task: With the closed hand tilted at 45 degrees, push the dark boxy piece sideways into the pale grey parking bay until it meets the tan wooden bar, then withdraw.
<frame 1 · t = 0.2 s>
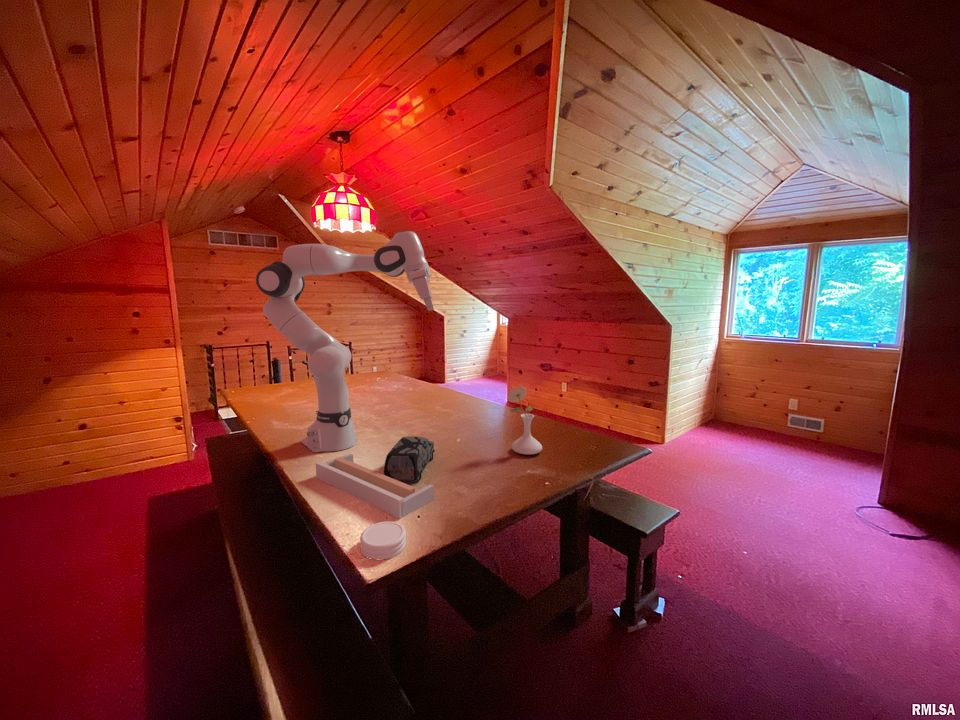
hand: (431, 310, 144), 52 cm above the table, tool tilted 20°, fingers open, 8 cm apart
coaster: (383, 547, 87), on the table
dark boxy piece: (411, 470, 127), on the table
tan wooden bar: (371, 480, 114), point 3 cm above the table, slide at 0.0 cm
parking bay: (371, 487, 115), on the table
flower in vase: (524, 452, 143), on the table
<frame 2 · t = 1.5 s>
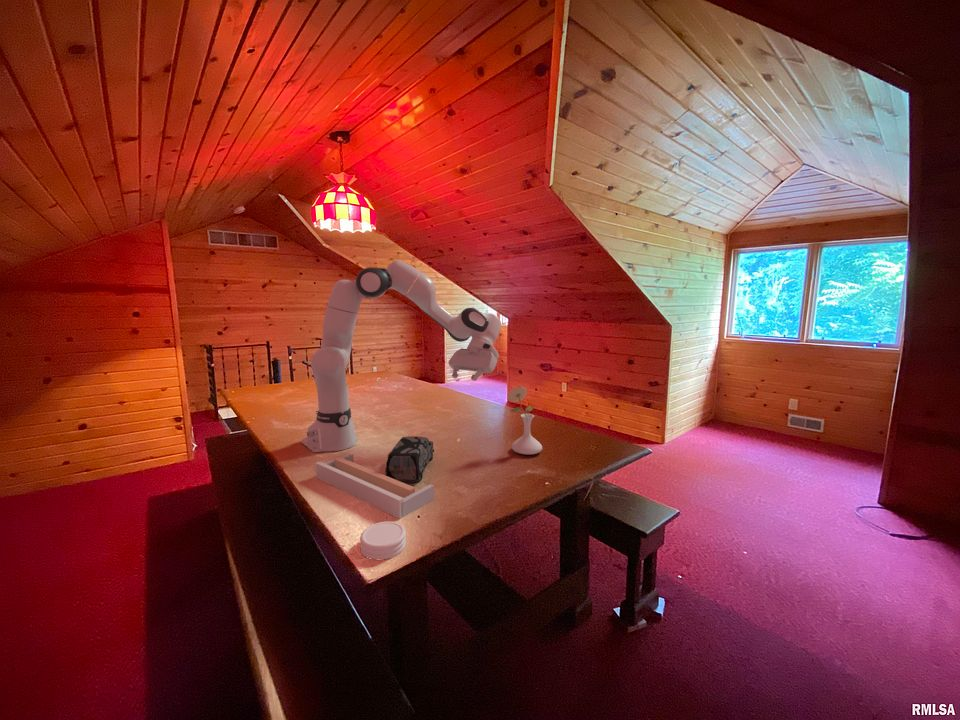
hand: (463, 378, 145), 26 cm above the table, tool tilted 45°, fingers open, 8 cm apart
nothing on the table moved.
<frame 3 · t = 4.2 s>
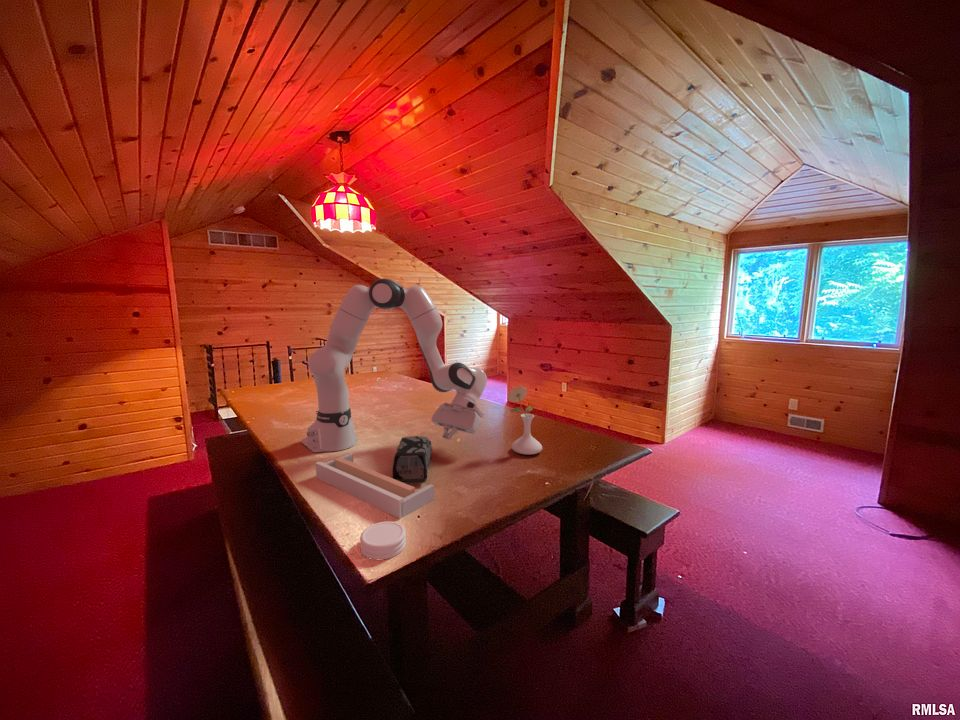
hand: (446, 438, 140), 6 cm above the table, tool tilted 45°, fingers closed
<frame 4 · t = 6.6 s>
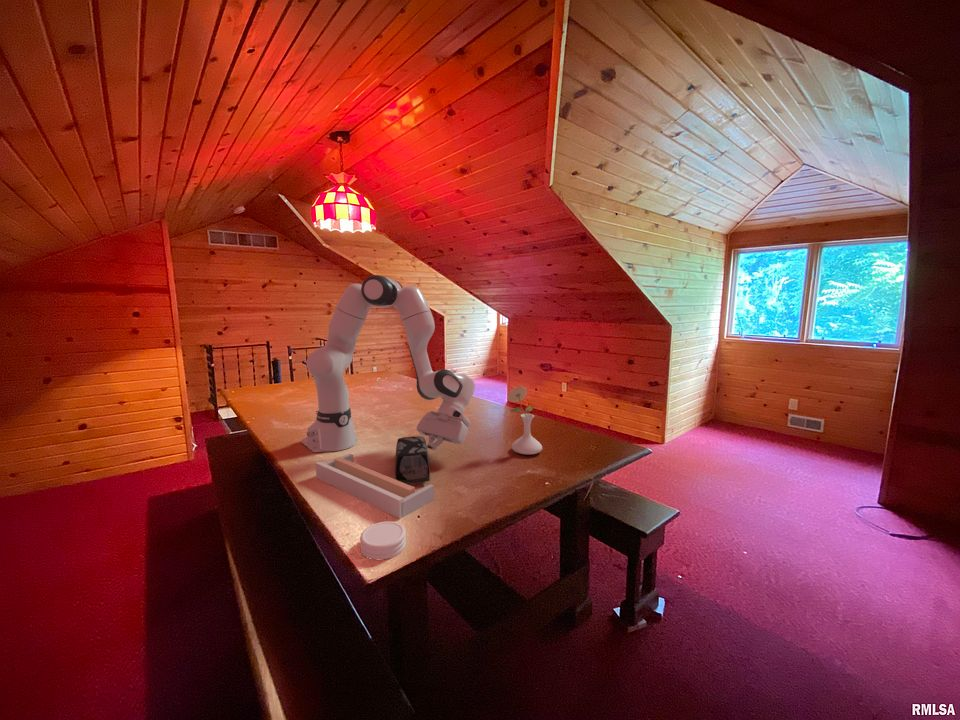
hand: (430, 448, 134), 4 cm above the table, tool tilted 45°, fingers closed
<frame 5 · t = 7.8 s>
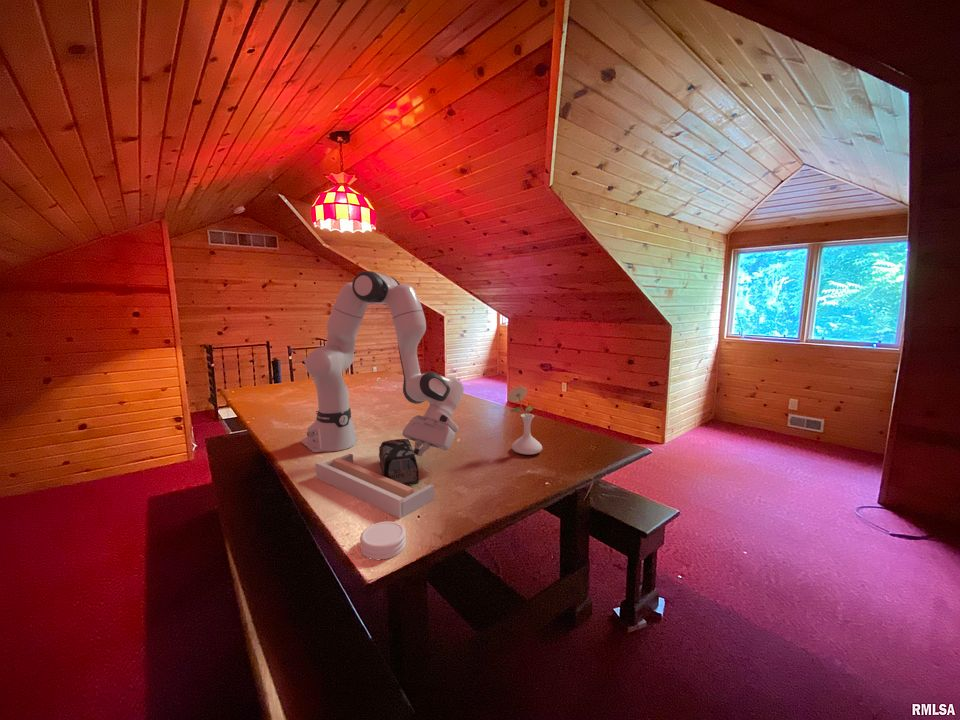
hand: (416, 454, 129), 4 cm above the table, tool tilted 45°, fingers closed
dark boxy piece: (397, 474, 125), on the table, touching tan wooden bar
tan wooden bar: (369, 480, 114), point 2 cm above the table, slide at 0.6 cm, touching dark boxy piece
everything else where it was.
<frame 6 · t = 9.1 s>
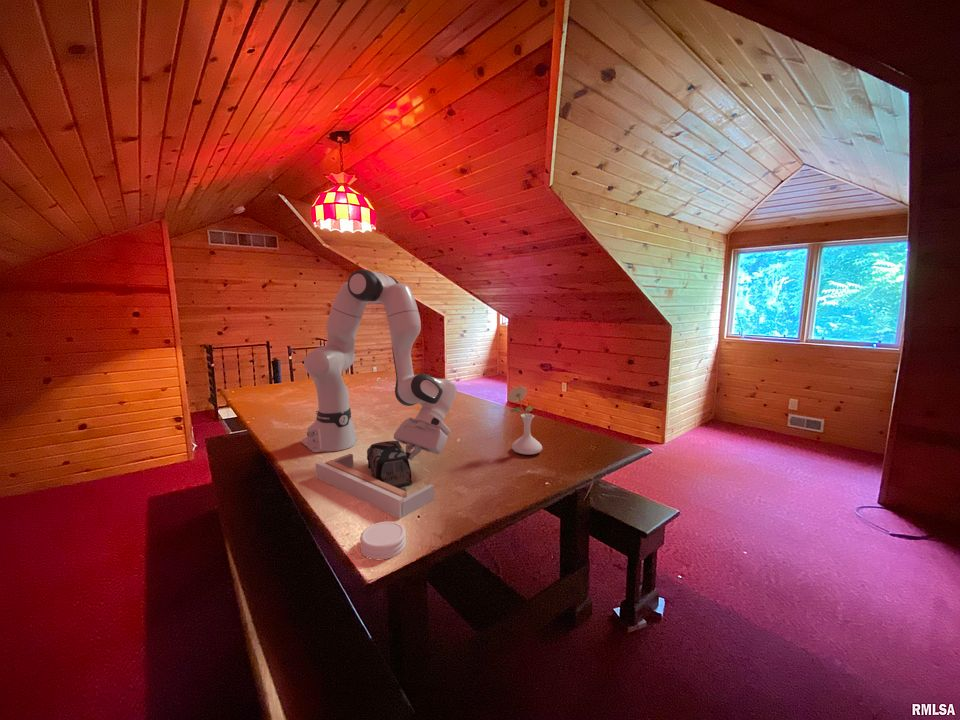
hand: (407, 458, 125), 4 cm above the table, tool tilted 45°, fingers closed
dark boxy piece: (388, 476, 123), on the table, touching gripper
tan wooden bar: (362, 483, 112), point 2 cm above the table, slide at 3.0 cm
everything else where it was.
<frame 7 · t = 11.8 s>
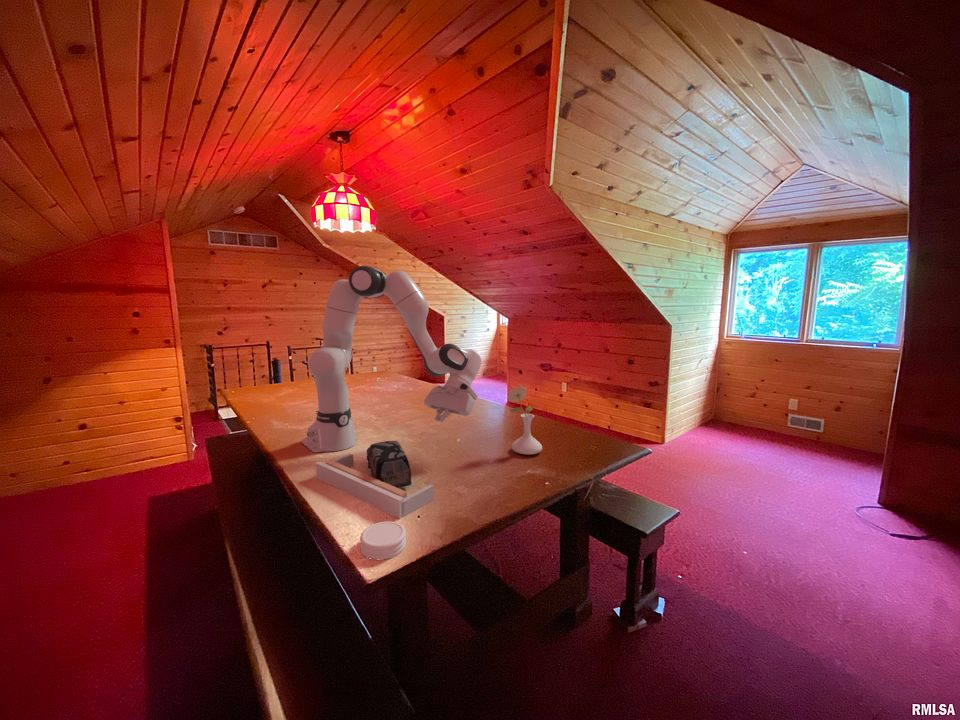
hand: (438, 420, 136), 13 cm above the table, tool tilted 45°, fingers closed
dark boxy piece: (387, 476, 123), on the table
everything else where it was.
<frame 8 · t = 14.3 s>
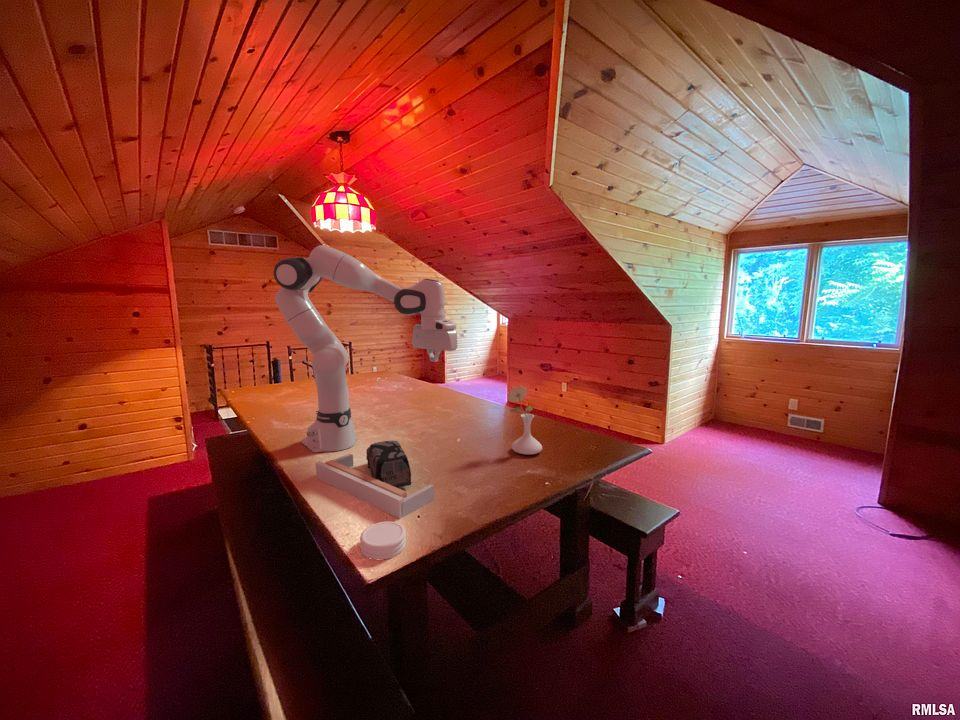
hand: (434, 361, 143), 33 cm above the table, tool pointing down, fingers closed
nothing on the table moved.
at the end: dark boxy piece inside the target area (3.3 cm from its centre), on the table; dark boxy piece tilted 0°; dark boxy piece moved 8.1 cm from its start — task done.
